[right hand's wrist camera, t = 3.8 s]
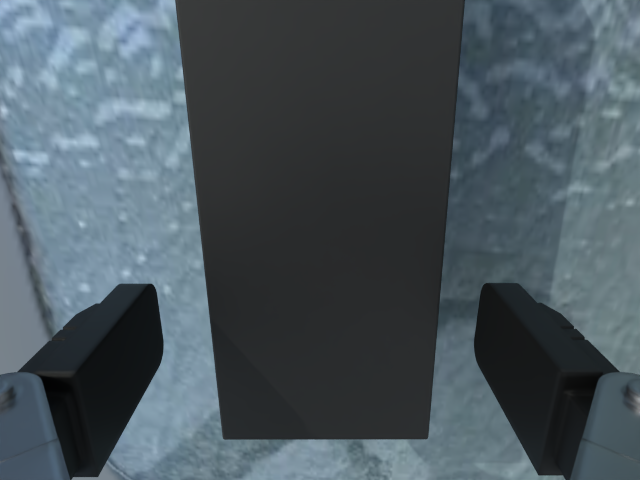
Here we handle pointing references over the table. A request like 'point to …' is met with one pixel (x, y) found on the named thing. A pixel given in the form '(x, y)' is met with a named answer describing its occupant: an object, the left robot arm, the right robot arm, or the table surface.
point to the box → (322, 206)
